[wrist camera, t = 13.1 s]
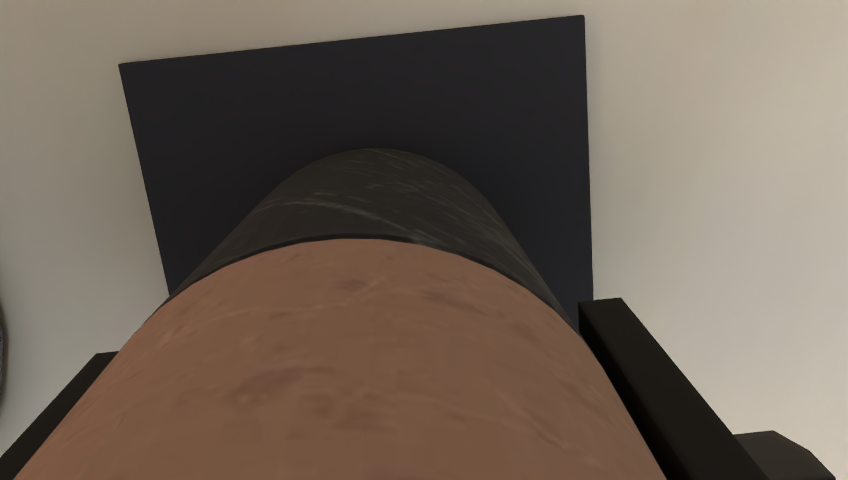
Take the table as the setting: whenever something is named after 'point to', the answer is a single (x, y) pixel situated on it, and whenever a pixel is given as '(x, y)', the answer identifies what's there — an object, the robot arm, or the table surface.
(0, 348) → the bowl
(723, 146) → the table surface
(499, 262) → the travel mug
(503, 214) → the mat
